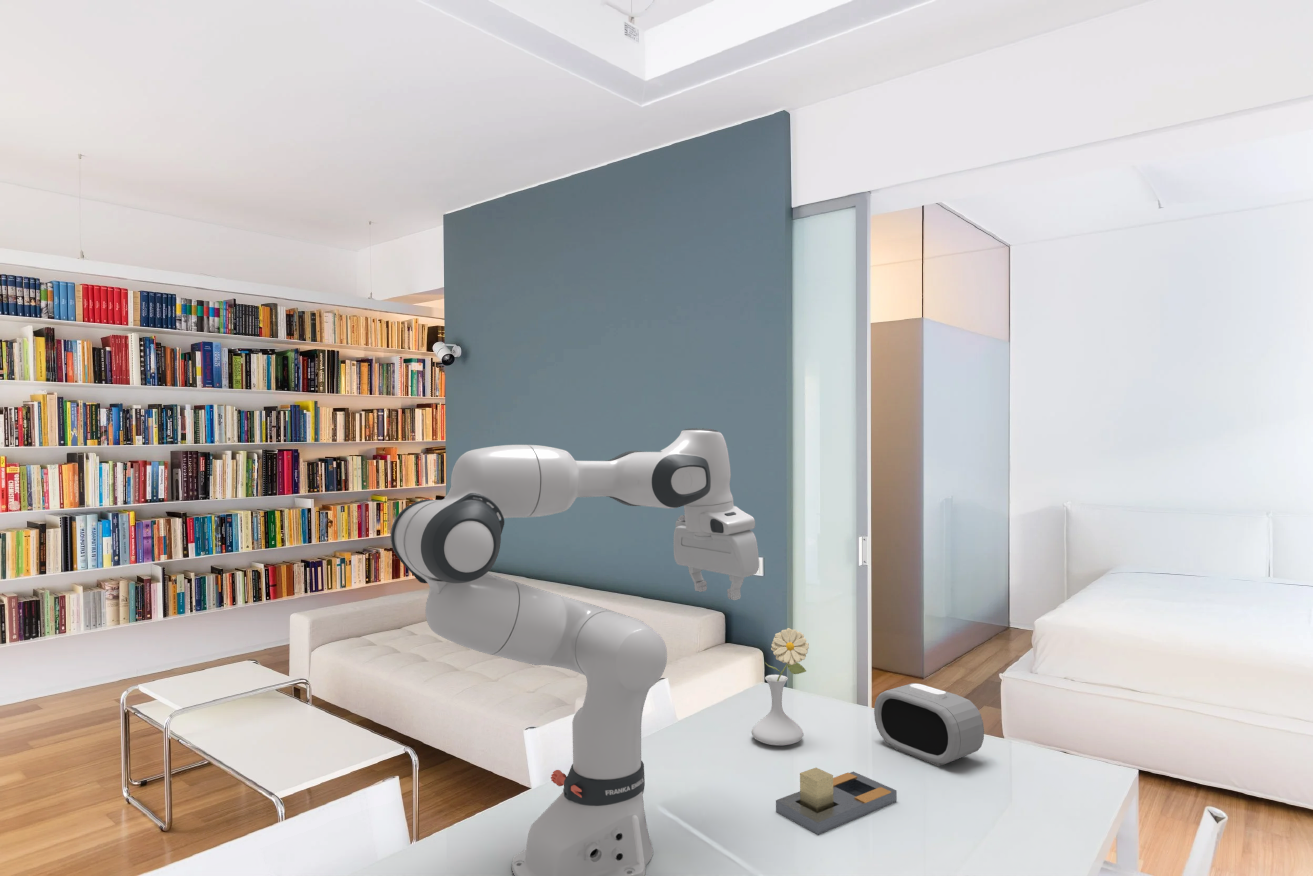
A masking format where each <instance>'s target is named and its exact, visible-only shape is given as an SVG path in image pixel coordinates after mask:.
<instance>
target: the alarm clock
mask: <svg viewBox="0 0 1313 876" xmlns="http://www.w3.org/2000/svg"><path fill="white" fill-rule="evenodd" d="M873 709H874V711H873V712H874V713H873V716H874V722H875V727H876V729H877V732H878V733H879V735H880V736H881V738H882V739H883V740H884V741H885V742H886V743H888V744H890V745H891V746H893V747H892V748H893V749H895V750H896V749H897V750H896V751H899V750H900V751H899V752H902V753H905V754H907V755H910V756H912V757H914V758H917V759H919V760H921V761H925V762H927V763H930V764H932V765H935V766H938V767H941V766H944V765H946V764H949V763H952V762H954V761H956V759H957V760H959V758H960V759H962V758H963V757H965V756H968V755H971V754H973V753H976V752H978V751H979V750H980V749H981V748H982V745H983V742H984V737H985V728H984V727H985V726H984V721H983V717H982V714H981V712H980V711H979V709H978V707H977V706H976V705H975V704H974V703H973V702H972V700H970V699H967V698H965V697H963V696H961V695H958V694H956V693H952V692H949V691H945V690H942V689H940V688H935V687H932V686H928V685H925V684H923V683H922V684H921V683H915V682H912V683H908V684H905V685H901V686H898V687H895V688H890V689H888V690H885V691H883V692H881V693H879V694H878V695H877V697H876V699H875V702H874V707H873ZM961 757H962V758H961Z"/></svg>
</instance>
